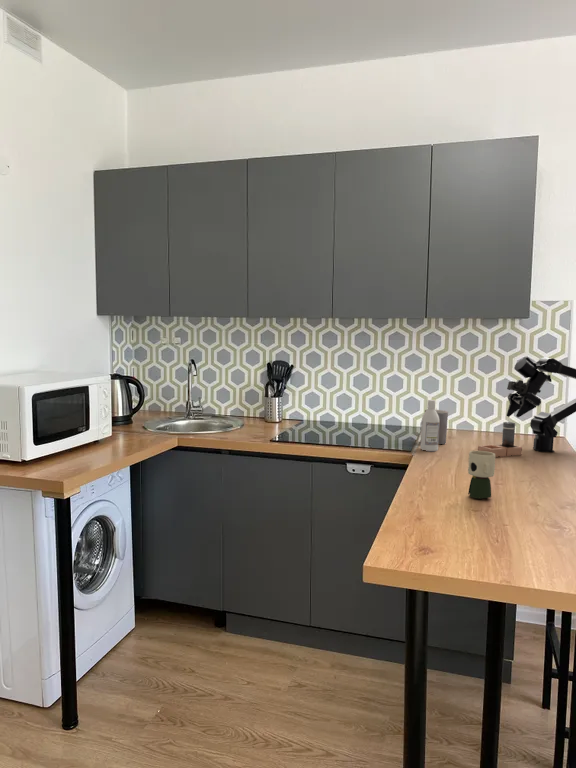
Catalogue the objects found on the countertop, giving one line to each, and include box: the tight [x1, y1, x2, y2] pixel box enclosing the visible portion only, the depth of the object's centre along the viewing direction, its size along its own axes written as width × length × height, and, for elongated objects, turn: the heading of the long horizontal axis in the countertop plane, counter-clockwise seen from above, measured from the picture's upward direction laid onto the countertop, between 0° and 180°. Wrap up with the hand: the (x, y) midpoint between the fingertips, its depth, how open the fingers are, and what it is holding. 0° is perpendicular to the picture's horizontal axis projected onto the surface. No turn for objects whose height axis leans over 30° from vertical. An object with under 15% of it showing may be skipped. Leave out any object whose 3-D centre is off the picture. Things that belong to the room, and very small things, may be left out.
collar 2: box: [495, 443, 523, 457], centre depth 235 cm, size 7×7×3 cm
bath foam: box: [419, 399, 440, 452], centre depth 236 cm, size 7×7×20 cm
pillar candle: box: [424, 408, 449, 445], centre depth 253 cm, size 10×10×15 cm
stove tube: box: [501, 421, 516, 448], centre depth 234 cm, size 4×4×12 cm
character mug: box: [467, 450, 496, 500], centre depth 169 cm, size 11×7×13 cm, turn 1°
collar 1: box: [477, 444, 507, 458], centre depth 231 cm, size 7×7×3 cm
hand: (512, 416), depth 239 cm, fingers open, 9 cm apart
